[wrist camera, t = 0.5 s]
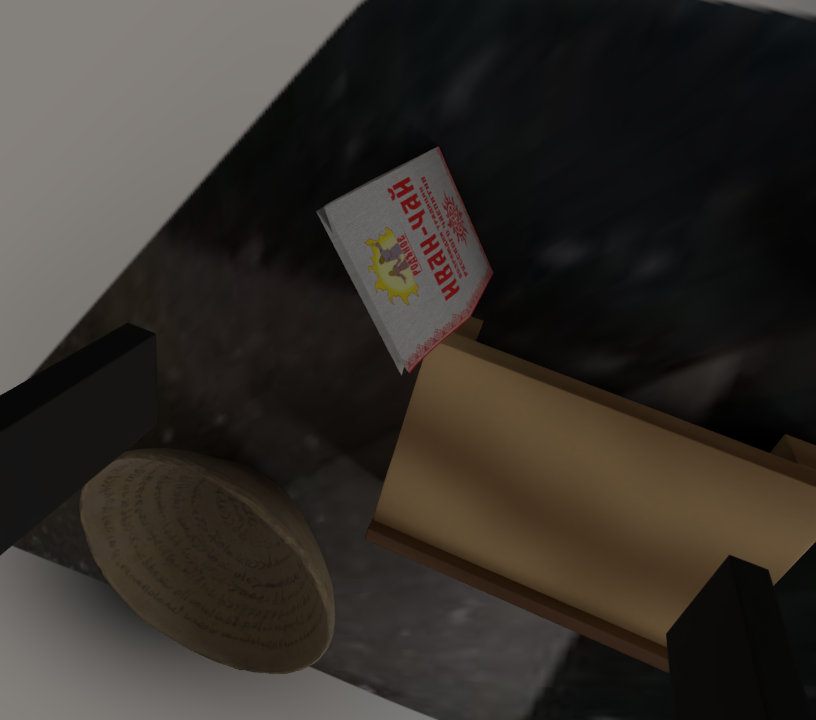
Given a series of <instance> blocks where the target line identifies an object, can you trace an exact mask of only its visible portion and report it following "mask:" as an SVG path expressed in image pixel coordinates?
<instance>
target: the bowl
mask: <svg viewBox="0 0 816 720" xmlns="http://www.w3.org/2000/svg"><path fill="white" fill-rule="evenodd" d="M79 508H80V514H81V522H82V525H83V528H84V532H85V535H86V538H87V542H88V545H89V548H90V550H91V553H92V555H93V557H94V559H95V561H96V563H97V565H98V566H99V567H100V568H101V570H102V573H103V576H104V577H105V578H106V580H107V581H108V582H109V584H110V585H111V586H112V587H113V588H114V589H115V590H116V591H117V592H118V594H119V595H120V596H121V597H122V599H124V601H125V602H126V603H127V604H128V605H129V607H130V608H131V609H132V610H133V611H134V612H135V613H136V614H137V615H138V616H139V617H141V618H142V619H143V620H144V621H146V622H147V623H149V624H150V625H151V626H153V627H154V628H155V629H156V630H158V631H159V632H161V633H163V634H165V635H166V636H168V637H169V638H171V639H173V640H174V641H176V642H178V643H179V644H181V645H183V646H184V647H186V648H188V649H190V650H192V651H194V652H196V653H198V654H200V655H202V656H204V657H206V658H209V659H211V660H213V661H216V662H218V663H221V664H224V665H227V666H230V667H233V668H235V669H239V670H246V671H251V672H258V673H269V674H286V673H291V672H295V671H299V670H302V669H304V668H306V667H308V666H310V665H312V664H314V663H315V662H317V661H318V660H319V659H320V658H321V657H322V656H323V654H324V653H325V651H326V650H327V649H328V647H329V645H330V642H331V639H332V635H333V632H334V624H335V605H334V594H333V586H332V582H331V579H330V576H329V573H328V570H327V567H326V564H325V561H324V558H323V556H322V554H321V551H320V549H319V547H318V544H317V542H316V540H315V538H314V536H313V534H312V532H311V530H310V528H309V526H308V524H307V522H306V520H305V518H304V516H303V514H302V513H301V511H300V510H299V508H298V506H297V505H296V504H295V503H294V501H293V500H292V499H291V498H290V496H289V495H288V494H287V493H286V492H285V491H284V490H283V489H282V488H281V487H280V486H279V485H278V484H276V483H275V482H274V481H273V480H271V479H270V478H268V477H267V476H266V475H264V474H262V473H261V472H259V471H257V470H255V469H253V468H251V467H249V466H246V465H244V464H241V463H238V462H234V461H230V460H225V459H220V458H216V457H212V456H208V455H204V454H201V453H196V452H192V451H187V450H181V449H173V448H149V449H137V450H130V451H125V452H124V453H123V454H121V455H120V456H119V457H118V458H117V459H115V460H114V461H113V462H112V463H111V464H109V465H108V466H107V467H106V468H105V469H103V470H102V471H101V472H100V473H99V474H97V475H96V476H95V477H94V478H93V479H91V480H90V481H89V482H88V483H87V484H85V485H84V486H83V488H82V491H81V496H80V502H79Z"/></svg>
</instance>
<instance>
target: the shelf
mask: <svg viewBox="0 0 816 720" xmlns="http://www.w3.org/2000/svg"><path fill="white" fill-rule="evenodd" d="M482 324H483V321H482V320H480V319H477V318H474V317H472V316H471V317H470V318H469V319H468V320H467V321H466V322H465V323H463V324H462V325H461V326H460V327H459V328H458V329H456V330H455V331H454V332H453V333H452V334H451V335H449V336H448V337H447V338H446V339H445V340H444V341H442V342H441V343H440V344H439V345H438V346H436V347H435V348H434V349H433V350H432V351H431V352H430V353H429V354H428V355H427V356H426V357H424V358H423V361H422V364H421V368H420V371H419V374H418V377H417V380H416V383H415V387H414V390H413V393H412V396H411V399H410V402H409V406H408V409H407V412H406V415H405V418H404V421H403V424H402V428H401V431H400V434H399V437H398V440H397V443H396V447H395V450H394V453H393V456H392V459H391V462H390V466H389V469H388V472H387V475H386V478H385V481H384V485H383V488H382V491H381V494H380V497H379V500H378V503H377V507H376V510H375V513H374V516H373V519H372V521H371V523H370V525H369V527H368V529H367V533H366V536H365V539H366V540H368V541H370V542H372V543H375V544H377V545H379V546H381V547H384V548H386V549H388V550H391V551H393V552H395V553H397V554H400V555H402V556H404V557H406V558H409V559H411V560H413V561H416V562H418V563H420V564H422V565H425V566H427V567H429V568H431V569H434V570H436V571H438V572H441V573H443V574H445V575H447V576H450V577H452V578H454V579H456V580H459V581H461V582H463V583H466V584H468V585H470V586H472V587H475V588H477V589H479V590H482V591H484V592H486V593H488V594H491V595H493V596H495V597H497V598H500V599H502V600H504V601H507V602H509V603H511V604H513V605H516V606H518V607H520V608H522V609H525V610H527V611H529V612H532V613H534V614H536V615H538V616H541V617H543V618H545V619H547V620H550V621H552V622H554V623H557V624H559V625H561V626H563V627H566V628H568V629H570V630H572V631H575V632H577V633H579V634H582V635H584V636H586V637H588V638H591V639H593V640H595V641H597V642H600V643H602V644H604V645H607V646H609V647H611V648H613V649H616V650H618V651H620V652H622V653H625V654H627V655H629V656H632V657H634V658H636V659H638V660H641V661H643V662H645V663H647V664H650V665H652V666H654V667H657V668H659V669H661V670H663V671H666V672H668V673H669V662H668V651H667V640H666V633H667V632H668V631H669V629H670V628H671V627H672V625H673V624H674V623H675V622H676V620H677V619H678V618H679V617H680V615H681V614H682V613H683V612H684V610H685V609H686V608H687V607H688V605H689V604H690V603H691V602H692V600H693V599H694V598H695V597H696V595H697V594H698V593H699V592H700V590H701V589H702V588H703V587H704V585H705V584H706V583H707V582H708V580H709V579H710V578H711V577H712V575H713V574H714V573H715V572H716V570H717V569H718V568H719V567H720V565H721V564H722V563H723V562H724V560H725V559H726V558H727V557H728V555H732V556H734V557H737V558H740V559H742V560H745V561H747V562H750V563H753V564H755V565H758V566H760V567H763V568H766V569H768V570H769V573H770V576H771V579H772V583H773V585H774V584H775V583H776V582H777V581H778V580H779V579H780V578H781V577H782V576H783V575H784V574H785V573H786V572H787V571H788V570H789V569H790V568H791V567H792V566H793V564H794V563H795V562H796V561H797V560H798V559H799V558H800V557H801V556H802V555H803V554H804V553H805V552H806V551H807V550H808V549H809V548H810V547H811V546H812V545H813V543H814V542H815V541H816V445H813V444H811V443H808V442H805V441H803V440H800V439H797V438H795V437H792V436H789V435H787V434H785V435H784V436H783V437H782V438H781V440H780V441H779V442H778V444H777V445H776V446H775V447H774V449H773V450H772V451H771V452H770V453H768V452H765V451H763V450H760V449H757V448H755V447H752V446H750V445H747V444H744V443H742V442H739V441H736V440H734V439H731V438H728V437H726V436H723V435H721V434H718V433H715V432H713V431H710V430H707V429H705V428H702V427H700V426H697V425H694V424H692V423H689V422H686V421H684V420H681V419H678V418H676V417H673V416H671V415H668V414H665V413H663V412H660V411H657V410H655V409H652V408H650V407H647V406H644V405H642V404H639V403H636V402H634V401H631V400H629V399H626V398H623V397H621V396H618V395H615V394H613V393H610V392H607V391H605V390H602V389H600V388H597V387H594V386H592V385H589V384H586V383H584V382H581V381H579V380H576V379H573V378H571V377H568V376H565V375H563V374H560V373H557V372H555V371H552V370H550V369H547V368H544V367H542V366H539V365H536V364H534V363H531V362H529V361H526V360H523V359H521V358H518V357H515V356H513V355H510V354H507V353H505V352H502V351H500V350H497V349H494V348H492V347H489V346H486V345H484V344H481V343H479V342H476V340H477V337H478V335H479V332H480V329H481V327H482Z"/></svg>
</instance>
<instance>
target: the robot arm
mask: <svg viewBox="0 0 816 720" xmlns="http://www.w3.org/2000/svg"><path fill="white" fill-rule="evenodd" d="M156 425H157V363H156V333H153V332H150V331H148V330H145V329H143V328H140V327H137V326H135V325H132V324H130V323H126V324H125V325H123V326H121V327H119V328H118V329H116V330H114V331H112V332H111V333H109V334H107V335H105V336H104V337H102V338H100V339H98V340H97V341H95V342H93V343H91V344H90V345H88V346H86V347H84V348H83V349H81V350H79V351H77V352H76V353H74V354H72V355H70V356H69V357H67V358H65V359H63V360H62V361H60V362H58V363H56V364H55V365H53V366H51V367H49V368H48V369H46V370H44V371H42V372H41V373H39V374H37V375H35V376H34V377H32V378H30V379H28V380H27V381H25V382H23V383H21V384H20V385H18V386H16V387H14V388H13V389H11V390H9V391H7V392H6V393H4V394H2V395H0V555H1V554H2V553H4V552H5V551H6V550H7V549H8V548H10V547H11V546H12V545H13V544H15V543H16V542H17V541H18V540H19V539H21V538H22V537H23V536H24V535H25V534H27V533H28V532H29V531H30V530H31V529H33V528H34V527H35V526H36V525H37V524H39V523H40V522H41V521H42V520H43V519H45V518H46V517H47V516H48V515H49V514H51V513H52V512H53V511H54V510H55V509H57V508H58V507H59V506H60V505H61V504H63V503H64V502H65V501H66V500H67V499H69V498H70V497H71V496H72V495H73V494H75V493H76V492H77V491H78V490H79V489H81V488H82V487H83V486H84V485H85V484H87V483H88V482H89V481H90V480H91V479H93V478H94V477H95V476H96V475H97V474H99V473H100V472H101V471H102V470H103V469H105V468H106V467H107V466H108V465H109V464H111V463H112V462H113V461H114V460H115V459H117V458H118V457H119V456H120V455H121V454H123V453H124V452H125V451H126V450H127V449H129V448H130V447H131V446H132V445H133V444H135V443H136V442H137V441H138V440H139V439H141V438H142V437H143V436H144V435H145V434H147V433H148V432H149V431H150V430H151V429H153V428H154V427H155V426H156ZM666 640H667V651H668V662H669V673H670V684H671V695H672V705H673V716H674V720H814V719H813V716H812V713H811V709H810V706H809V703H808V699H807V696H806V693H805V689H804V686H803V683H802V679H801V676H800V673H799V669H798V666H797V663H796V659H795V656H794V653H793V649H792V646H791V643H790V639H789V636H788V633H787V629H786V626H785V623H784V619H783V616H782V613H781V609H780V606H779V603H778V599H777V596H776V593H775V589H774V586H773V583H772V579H771V576H770V573H769V570H768V569H766V568H763V567H760V566H758V565H755V564H753V563H750V562H747V561H745V560H742V559H740V558H737V557H734V556H732V555H728V557H727V558H726V559H725V560H724V562H723V563H722V564H721V565H720V567H719V568H718V569H717V570H716V572H715V573H714V574H713V575H712V577H711V578H710V579H709V580H708V582H707V583H706V584H705V585H704V587H703V588H702V589H701V590H700V592H699V593H698V594H697V595H696V597H695V598H694V599H693V600H692V602H691V603H690V604H689V605H688V607H687V608H686V609H685V610H684V612H683V613H682V614H681V615H680V617H679V618H678V619H677V620H676V622H675V623H674V624H673V625H672V627H671V628H670V629H669V631H668V632H667V633H666Z"/></svg>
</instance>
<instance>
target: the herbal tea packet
mask: <svg viewBox="0 0 816 720" xmlns="http://www.w3.org/2000/svg"><path fill="white" fill-rule="evenodd" d="M316 212H317V214H318V216H319V218H320V220H321V222H322V223H323V225H324V227H325V229H326V231H327V233H328V235H329V237H330V239H331V241H332V243H333V245H334V247H335V249H336V250H337V252H338V254H339V256H340V258H341V260H342V262H343V264H344V266H345V268H346V270H347V272H348V274H349V276H350V277H351V279H352V281H353V283H354V285H355V287H356V289H357V291H358V293H359V295H360V297H361V299H362V301H363V302H364V304H365V306H366V308H367V310H368V312H369V314H370V316H371V318H372V320H373V322H374V324H375V326H376V328H377V329H378V331H379V333H380V335H381V337H382V339H383V341H384V343H385V345H386V347H387V349H388V351H389V353H390V355H391V356H392V358H393V360H394V362H395V364H396V366H397V368H398V370H399V372H400V374H401V376H402V372H403V368H404V367H405V368H406V369H407V371H408V372H409V373H410V372H411V371H412V370H413V369H414V368H415V366H416V365H417V364H418V363H419V362H420V361H421V360H422V359H423V358H424V357H426V356H427V355H428V354H429V353H430V352H431V351H432V350H433V349H434V348H435V347H436V346H438V345H439V344H440V343H441V342H442V341H444V340H445V339H446V338H447V337H448V336H449V335H451V334H452V333H453V332H454V331H455V330H456V329H458V328H459V327H460V326H461V325H462V324H463V323H465V322H466V321H467V320H468V319H469V318H470V317H471V315H472V313H473V311H474V309H475V307H476V305H477V303H478V301H479V300H480V298H481V296H482V294H483V292H484V290H485V288H486V286H487V284H488V282H489V281H490V279H491V277H492V275H493V271H492V268H491V266H490V264H489V262H488V259H487V257H486V255H485V252H484V250H483V248H482V245H481V243H480V241H479V238H478V236H477V234H476V231H475V229H474V227H473V225H472V222H471V220H470V218H469V215H468V213H467V211H466V208H465V206H464V204H463V201H462V199H461V197H460V194H459V192H458V190H457V188H456V185H455V183H454V181H453V178H452V176H451V174H450V171H449V169H448V167H447V164H446V162H445V160H444V158H443V155H442V153H441V151H440V148H439V146H438V147H436V148H434V149H432V150H430V151H428V152H426V153H424V154H422V155H420V156H418V157H416V158H414V159H412V160H410V161H408V162H406V163H404V164H402V165H400V166H398V167H396V168H394V169H392V170H390V171H388V172H386V173H384V174H382V175H380V176H378V177H376V178H374V179H372V180H371V181H369V182H367V183H365V184H363V185H361V186H360V187H358V188H356V189H354V190H352V191H350V192H348V193H347V194H345V195H343V196H341V197H339V198H337V199H335V200H334V201H332V202H330V203H328V204H326V205H325V206H324V207H323V208H321V209H320V210H318V211H316Z"/></svg>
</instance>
